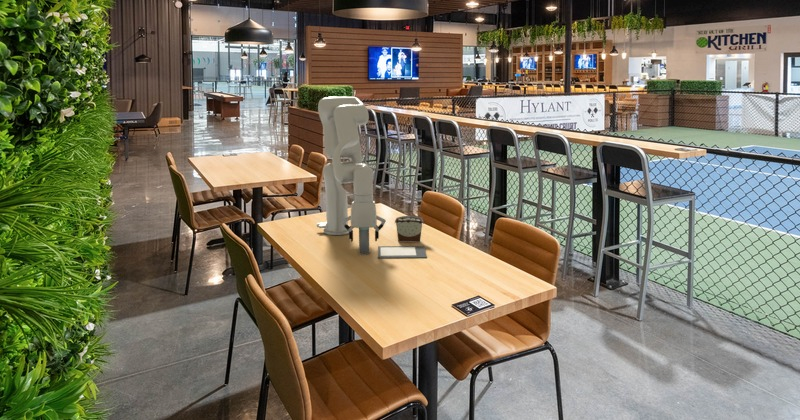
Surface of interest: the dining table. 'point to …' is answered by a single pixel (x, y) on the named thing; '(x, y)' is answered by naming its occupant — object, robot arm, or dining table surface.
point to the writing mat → (401, 252)
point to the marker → (364, 240)
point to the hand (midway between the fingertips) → (364, 240)
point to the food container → (409, 228)
